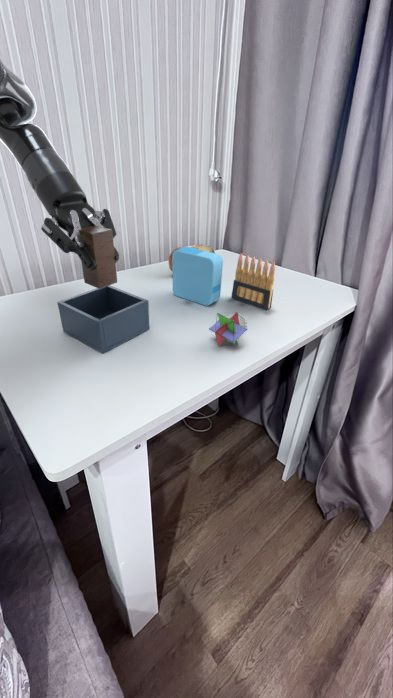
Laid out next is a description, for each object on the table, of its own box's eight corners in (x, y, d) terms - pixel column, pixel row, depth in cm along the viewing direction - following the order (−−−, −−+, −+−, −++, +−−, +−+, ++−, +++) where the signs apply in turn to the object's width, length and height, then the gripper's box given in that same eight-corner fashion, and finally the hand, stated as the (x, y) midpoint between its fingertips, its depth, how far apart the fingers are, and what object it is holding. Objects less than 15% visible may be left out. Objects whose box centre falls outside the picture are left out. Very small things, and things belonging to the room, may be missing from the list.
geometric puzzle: (222, 349, 61) (242, 311, 61) (196, 335, 66) (215, 299, 65) (239, 357, 67) (258, 322, 67) (215, 343, 71) (232, 310, 71)
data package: (220, 301, 85) (223, 255, 78) (210, 307, 81) (213, 259, 75) (182, 289, 90) (183, 245, 84) (172, 294, 87) (172, 249, 80)
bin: (102, 354, 63) (98, 322, 59) (63, 332, 69) (57, 302, 65) (149, 329, 71) (148, 300, 68) (110, 311, 77) (107, 284, 74)
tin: (171, 279, 97) (171, 250, 92) (167, 275, 99) (166, 247, 94) (215, 272, 103) (217, 244, 98) (210, 268, 105) (211, 242, 101)
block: (84, 282, 64) (76, 229, 58) (102, 276, 67) (96, 225, 61) (99, 288, 62) (92, 233, 56) (117, 282, 65) (112, 229, 59)
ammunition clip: (271, 308, 83) (279, 260, 76) (267, 310, 81) (275, 262, 75) (234, 296, 88) (239, 251, 81) (231, 298, 87) (235, 252, 80)
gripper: (21, 171, 53) (79, 263, 53) (94, 167, 62) (142, 245, 63) (12, 202, 58) (65, 285, 59) (80, 194, 68) (125, 266, 69)
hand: (105, 264), depth 61 cm, fingers closed on block, 4 cm apart
